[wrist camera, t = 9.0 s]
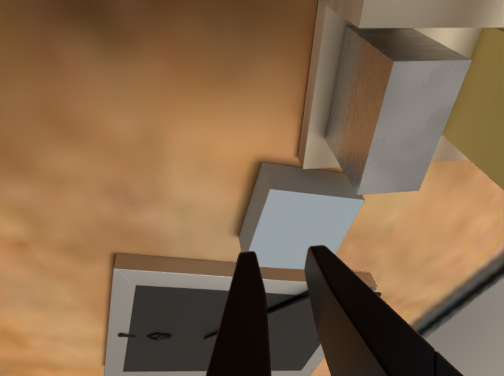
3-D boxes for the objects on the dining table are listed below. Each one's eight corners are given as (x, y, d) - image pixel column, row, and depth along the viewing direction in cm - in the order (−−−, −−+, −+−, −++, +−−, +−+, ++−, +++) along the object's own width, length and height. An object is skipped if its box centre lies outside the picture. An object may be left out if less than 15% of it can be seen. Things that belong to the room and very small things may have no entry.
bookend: (405, 24, 17) (471, 60, 13) (374, 136, 20) (418, 190, 17) (344, 24, 16) (393, 61, 12) (324, 139, 20) (357, 194, 16)
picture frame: (368, 267, 31) (118, 245, 25) (381, 294, 29) (111, 277, 23) (303, 359, 40) (107, 358, 34) (310, 385, 38) (101, 389, 32)
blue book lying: (347, 171, 24) (364, 200, 21) (314, 239, 27) (325, 270, 25) (261, 159, 22) (270, 189, 20) (238, 233, 26) (243, 265, 24)
